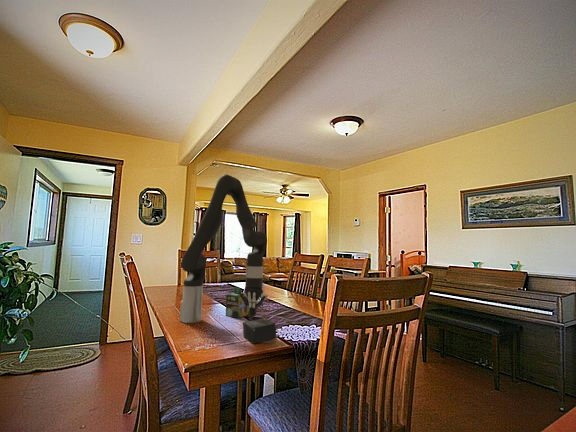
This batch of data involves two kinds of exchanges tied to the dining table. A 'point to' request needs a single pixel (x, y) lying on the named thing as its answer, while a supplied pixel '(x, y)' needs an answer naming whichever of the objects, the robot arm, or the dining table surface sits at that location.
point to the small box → (259, 330)
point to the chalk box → (236, 305)
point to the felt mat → (270, 339)
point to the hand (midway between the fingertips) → (252, 315)
